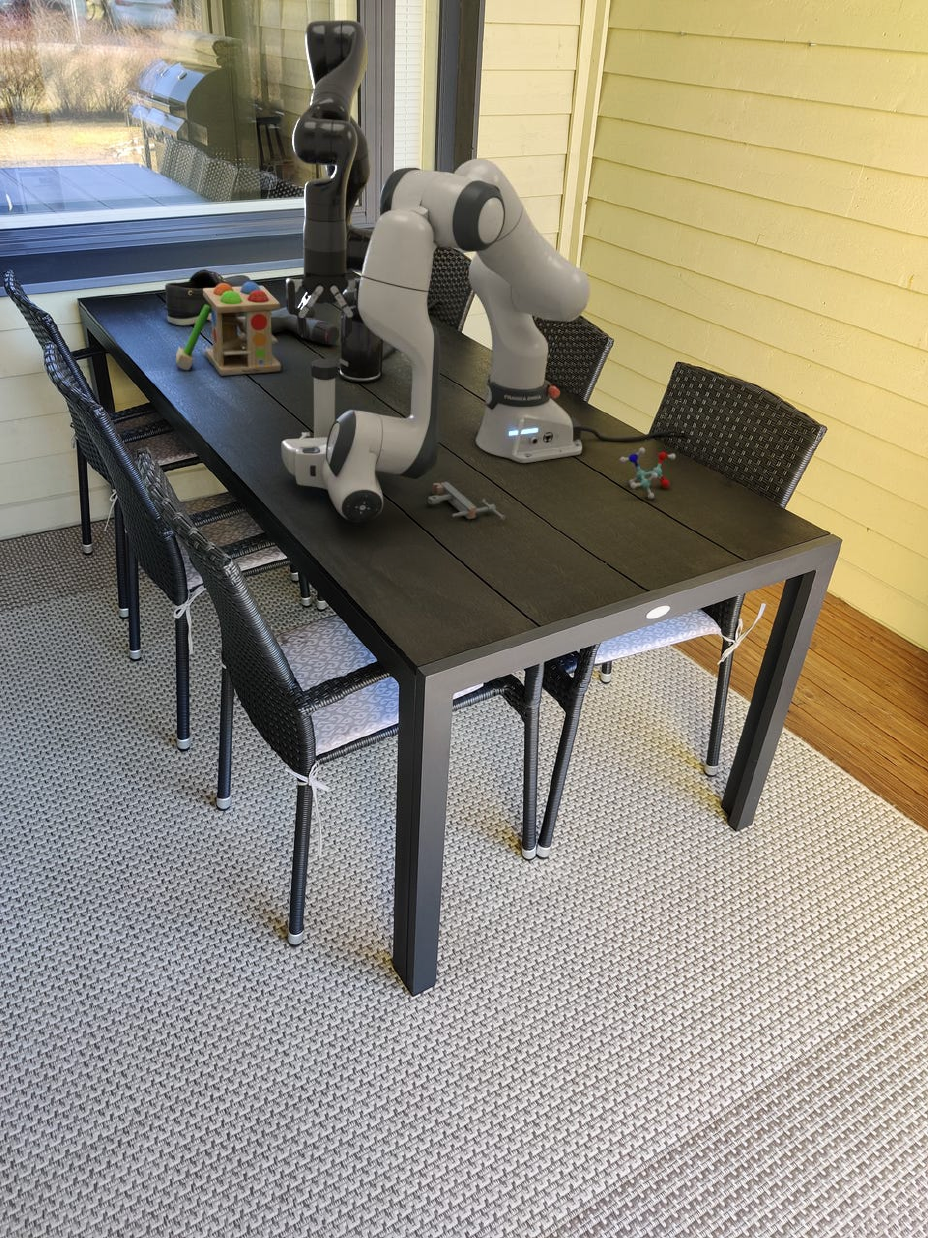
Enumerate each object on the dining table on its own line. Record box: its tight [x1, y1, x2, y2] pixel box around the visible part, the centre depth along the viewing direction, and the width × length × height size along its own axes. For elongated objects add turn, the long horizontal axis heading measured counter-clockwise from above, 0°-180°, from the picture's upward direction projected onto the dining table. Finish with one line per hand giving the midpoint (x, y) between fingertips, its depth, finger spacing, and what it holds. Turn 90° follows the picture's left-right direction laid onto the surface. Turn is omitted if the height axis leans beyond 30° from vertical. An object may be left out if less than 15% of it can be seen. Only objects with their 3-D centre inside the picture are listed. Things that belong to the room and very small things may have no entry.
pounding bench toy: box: [174, 281, 282, 377], centre depth 225 cm, size 23×14×18 cm, turn 116°
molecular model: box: [619, 447, 676, 500], centre depth 192 cm, size 12×10×10 cm
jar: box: [313, 377, 336, 438], centre depth 190 cm, size 4×4×18 cm
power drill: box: [271, 304, 340, 346], centre depth 252 cm, size 5×19×20 cm
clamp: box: [427, 481, 506, 521], centre depth 180 cm, size 15×2×10 cm
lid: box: [310, 358, 339, 380], centre depth 186 cm, size 5×5×2 cm
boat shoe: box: [164, 269, 253, 326], centre depth 260 cm, size 13×33×10 cm, turn 147°
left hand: (324, 335), depth 182 cm, fingers open, 7 cm apart
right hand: (329, 434), depth 188 cm, fingers open, 8 cm apart
